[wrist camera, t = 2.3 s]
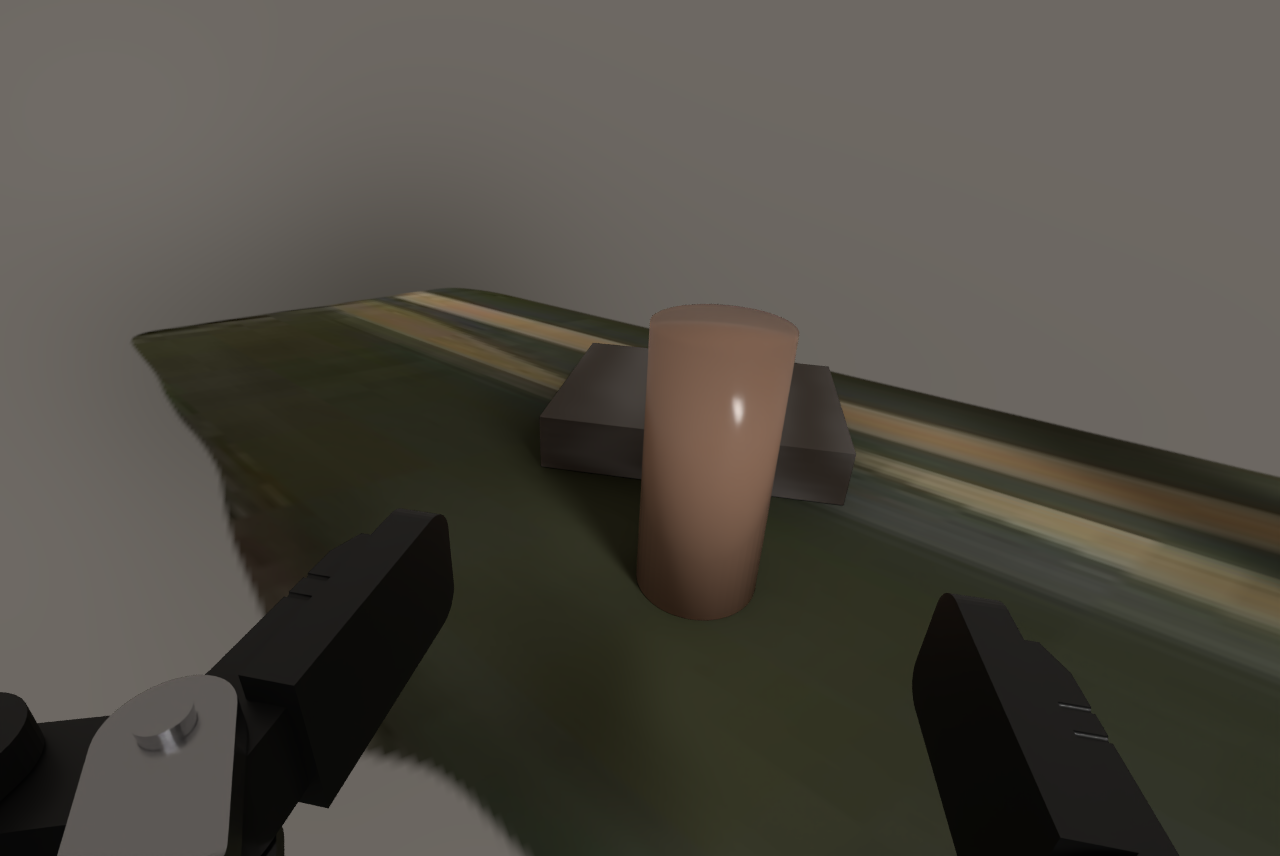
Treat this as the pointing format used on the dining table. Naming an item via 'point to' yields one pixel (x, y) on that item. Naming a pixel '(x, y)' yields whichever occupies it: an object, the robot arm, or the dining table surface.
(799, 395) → the plinth
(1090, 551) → the dining table surface
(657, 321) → the terracotta cylinder
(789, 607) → the dining table surface
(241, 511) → the dining table surface
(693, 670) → the dining table surface
